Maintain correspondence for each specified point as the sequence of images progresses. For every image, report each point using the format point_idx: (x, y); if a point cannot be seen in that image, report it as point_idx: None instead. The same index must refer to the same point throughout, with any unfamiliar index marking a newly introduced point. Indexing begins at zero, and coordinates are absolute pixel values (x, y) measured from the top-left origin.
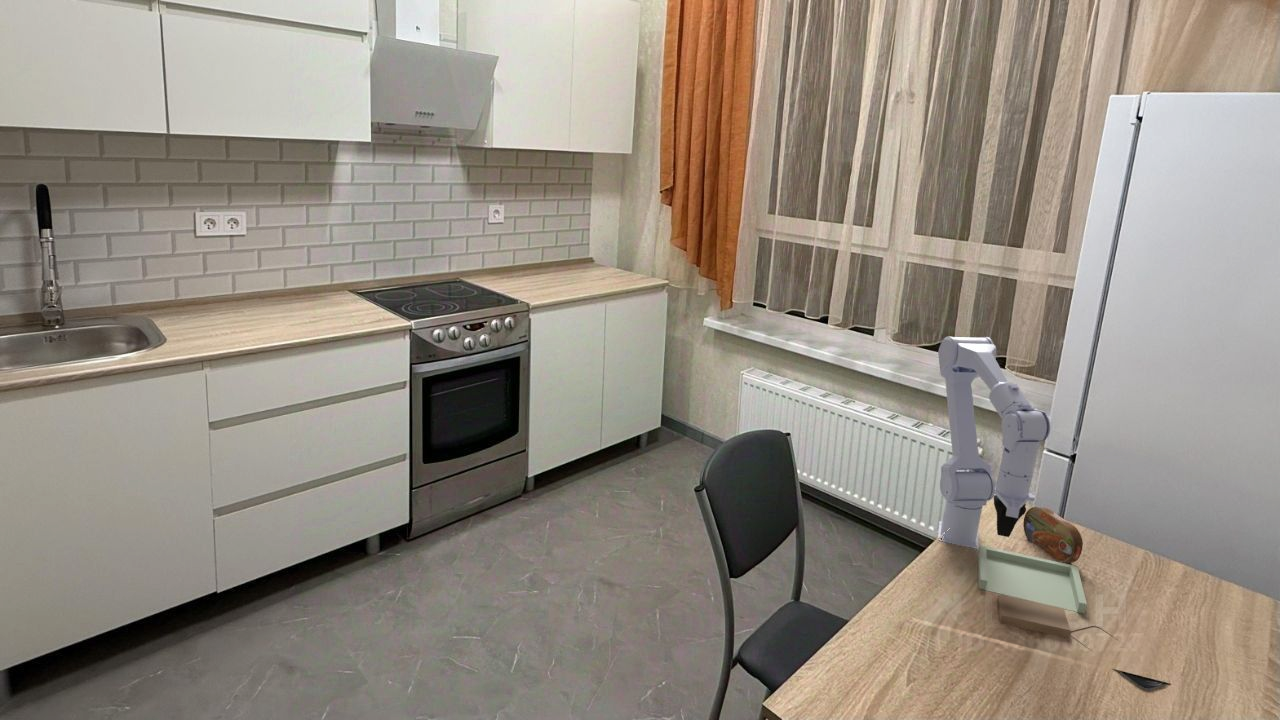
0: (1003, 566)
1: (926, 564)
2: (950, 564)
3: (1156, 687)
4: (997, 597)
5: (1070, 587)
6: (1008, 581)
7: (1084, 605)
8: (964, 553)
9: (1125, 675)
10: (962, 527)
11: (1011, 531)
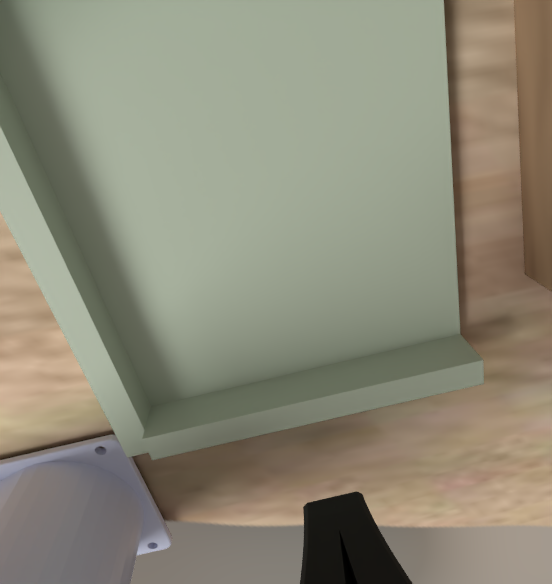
0: (191, 324)
1: None
2: (310, 466)
3: None
4: (546, 287)
5: None
6: (324, 276)
7: None
8: (181, 456)
9: None
10: (118, 573)
11: (382, 538)
